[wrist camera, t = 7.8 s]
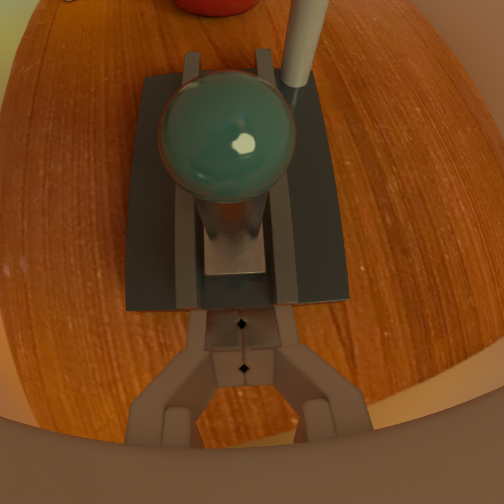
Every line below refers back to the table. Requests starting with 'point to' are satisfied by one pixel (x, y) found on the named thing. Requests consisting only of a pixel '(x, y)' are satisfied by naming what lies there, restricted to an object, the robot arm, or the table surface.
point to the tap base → (276, 207)
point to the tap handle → (228, 161)
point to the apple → (216, 7)
